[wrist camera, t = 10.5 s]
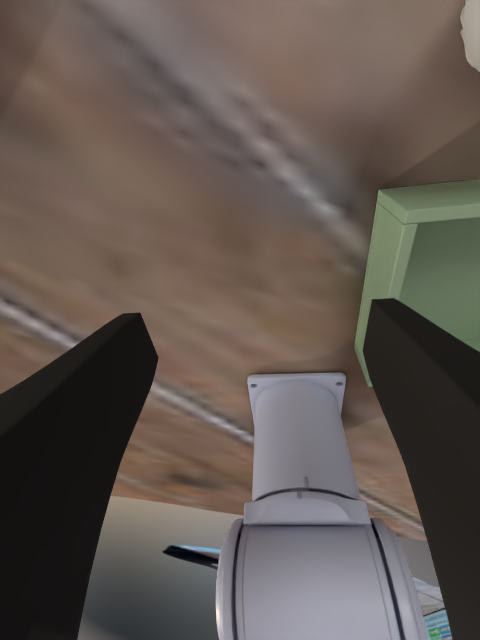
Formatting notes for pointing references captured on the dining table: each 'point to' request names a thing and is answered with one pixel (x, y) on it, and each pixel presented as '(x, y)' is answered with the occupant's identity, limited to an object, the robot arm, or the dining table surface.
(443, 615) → the gum box
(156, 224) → the dining table surface
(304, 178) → the dining table surface
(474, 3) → the cream rounded lump
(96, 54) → the dining table surface
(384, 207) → the tote
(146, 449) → the dining table surface
